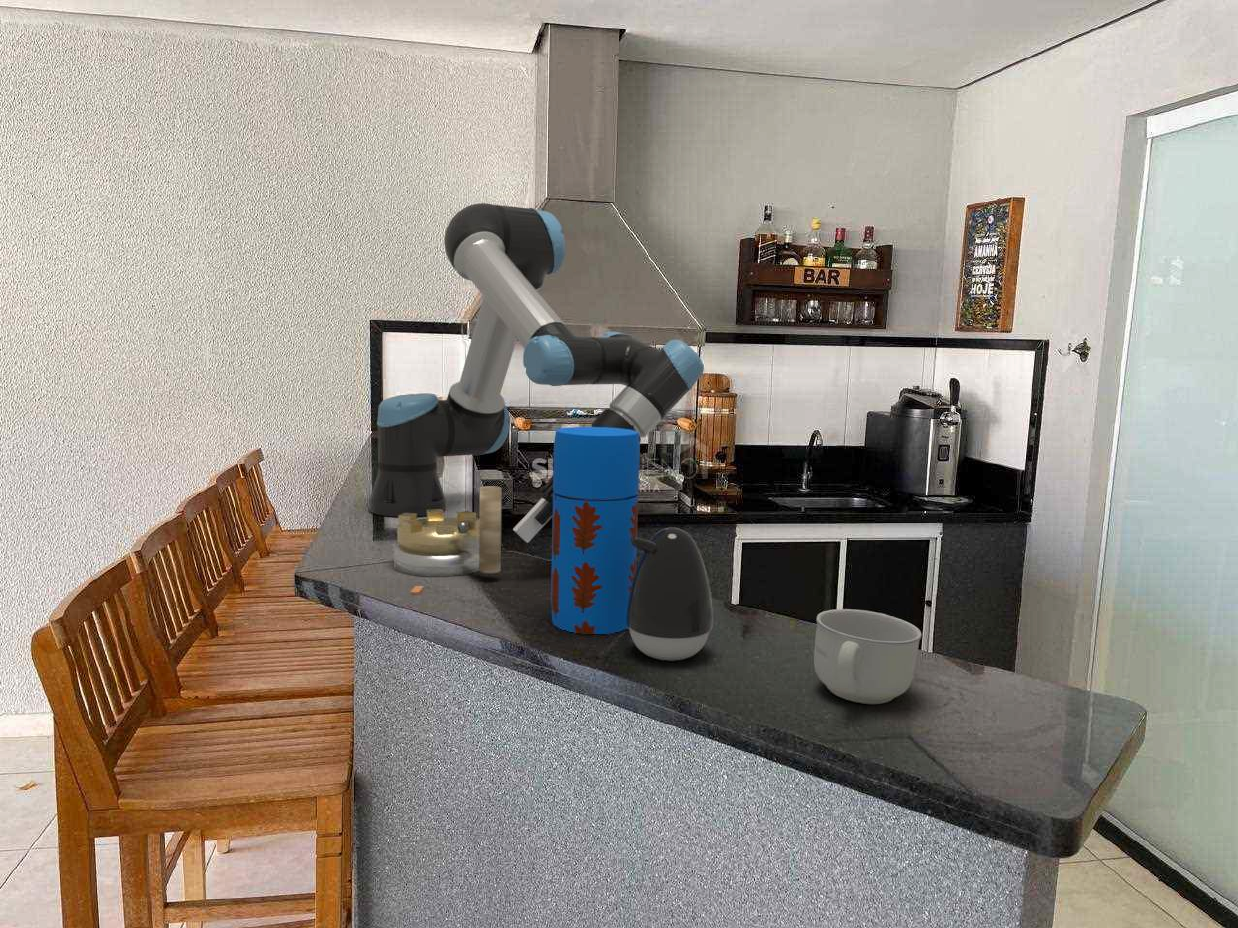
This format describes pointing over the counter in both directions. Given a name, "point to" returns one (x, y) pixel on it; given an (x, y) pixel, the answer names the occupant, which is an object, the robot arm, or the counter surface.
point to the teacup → (865, 654)
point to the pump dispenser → (669, 597)
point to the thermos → (594, 527)
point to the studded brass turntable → (457, 532)
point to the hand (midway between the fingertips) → (520, 536)
